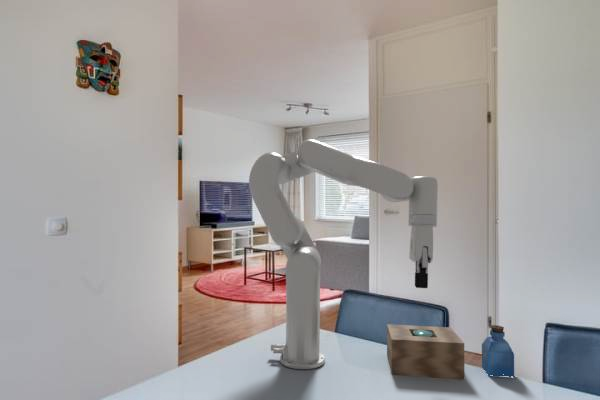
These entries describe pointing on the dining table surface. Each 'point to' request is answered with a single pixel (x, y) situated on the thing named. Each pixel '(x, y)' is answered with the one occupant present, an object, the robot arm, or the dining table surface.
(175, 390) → the dining table surface
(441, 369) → the housing
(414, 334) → the plunger
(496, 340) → the perfume bottle
